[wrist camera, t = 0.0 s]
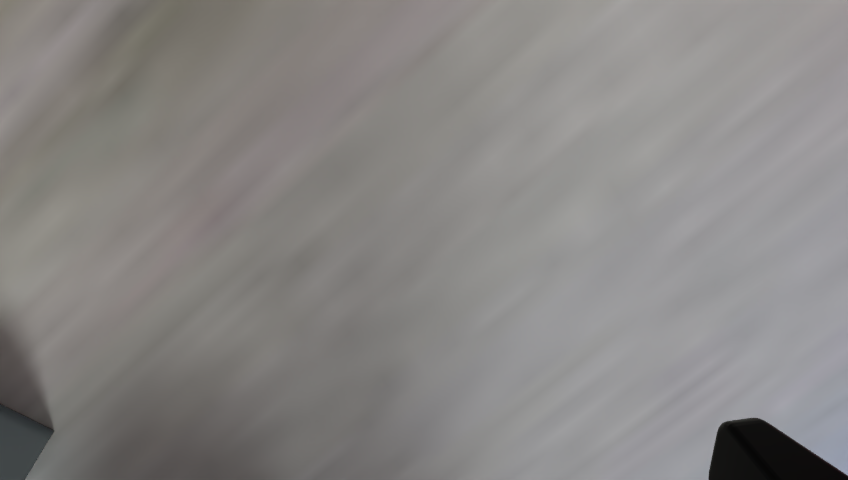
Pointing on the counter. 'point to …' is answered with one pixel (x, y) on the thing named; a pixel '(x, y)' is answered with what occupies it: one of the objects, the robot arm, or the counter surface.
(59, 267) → the counter surface
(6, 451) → the parts tray
